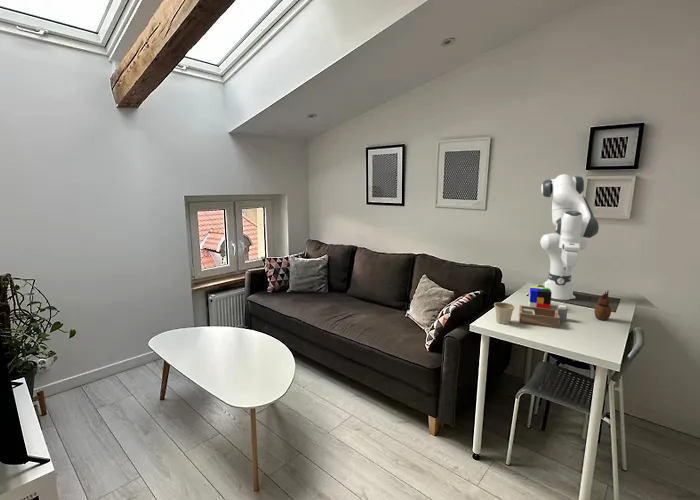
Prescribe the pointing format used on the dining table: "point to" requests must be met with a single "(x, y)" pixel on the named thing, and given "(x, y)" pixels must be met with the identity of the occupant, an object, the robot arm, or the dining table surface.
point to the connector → (562, 312)
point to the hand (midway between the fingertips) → (566, 272)
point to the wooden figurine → (603, 308)
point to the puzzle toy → (539, 297)
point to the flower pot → (503, 312)
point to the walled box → (539, 316)
